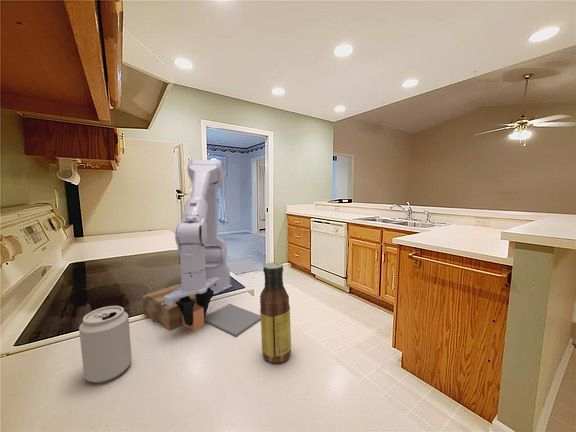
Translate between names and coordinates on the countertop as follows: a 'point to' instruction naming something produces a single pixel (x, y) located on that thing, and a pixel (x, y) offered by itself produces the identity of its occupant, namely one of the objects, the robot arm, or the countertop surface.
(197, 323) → the orange clay brick
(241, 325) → the mat
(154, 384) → the countertop surface
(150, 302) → the brown wooden stand
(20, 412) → the countertop surface
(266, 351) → the sauce bottle
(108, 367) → the can
